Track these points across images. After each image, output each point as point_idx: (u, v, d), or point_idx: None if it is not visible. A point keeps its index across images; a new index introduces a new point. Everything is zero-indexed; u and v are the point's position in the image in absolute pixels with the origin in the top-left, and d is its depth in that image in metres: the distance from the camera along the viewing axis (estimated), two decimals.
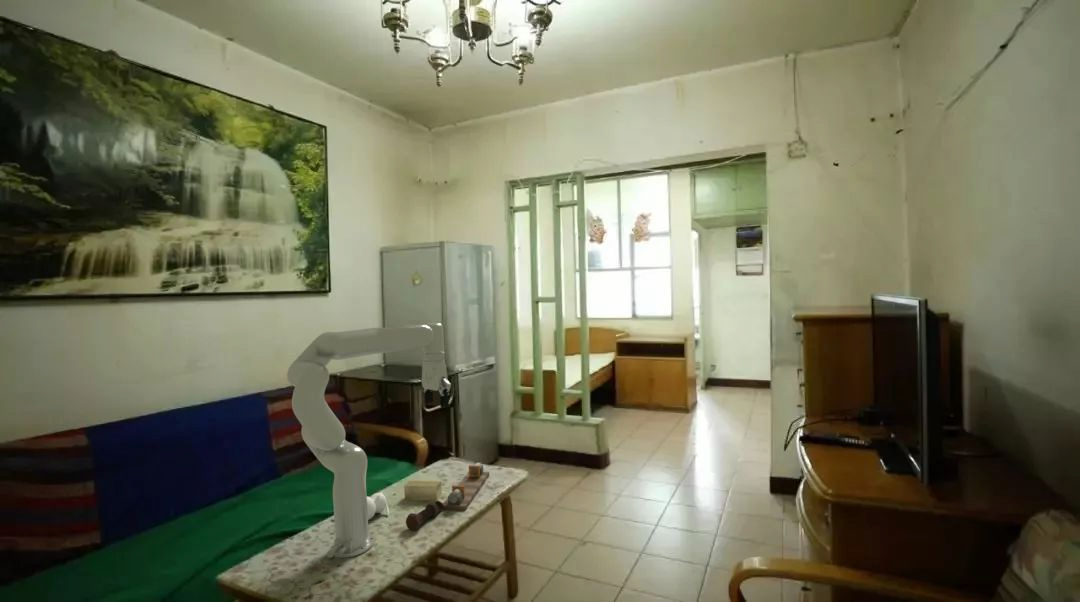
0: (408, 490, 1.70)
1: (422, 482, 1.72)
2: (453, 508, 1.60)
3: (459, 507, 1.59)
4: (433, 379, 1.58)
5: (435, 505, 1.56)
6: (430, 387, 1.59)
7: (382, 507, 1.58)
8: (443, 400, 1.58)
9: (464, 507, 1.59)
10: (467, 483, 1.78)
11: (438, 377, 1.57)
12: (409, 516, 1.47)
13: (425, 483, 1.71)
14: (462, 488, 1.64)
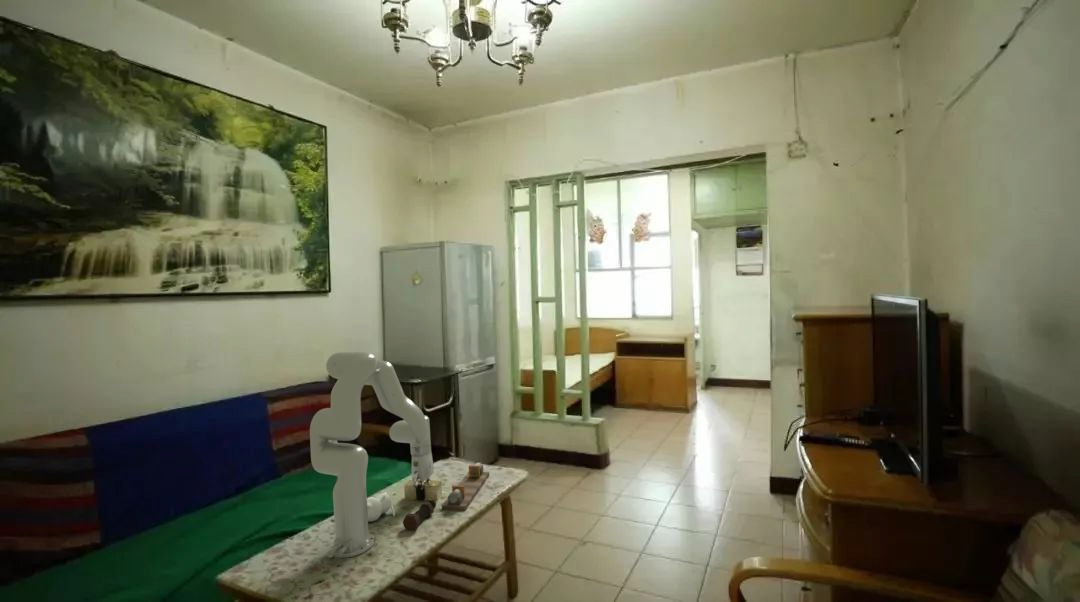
0: (408, 489, 1.70)
1: None
2: (453, 508, 1.60)
3: (459, 507, 1.59)
4: (431, 464, 1.74)
5: (429, 504, 1.57)
6: (430, 474, 1.72)
7: (388, 507, 1.58)
8: None
9: (464, 507, 1.59)
10: (467, 483, 1.78)
11: None
12: (407, 516, 1.47)
13: (425, 482, 1.72)
14: (462, 488, 1.64)
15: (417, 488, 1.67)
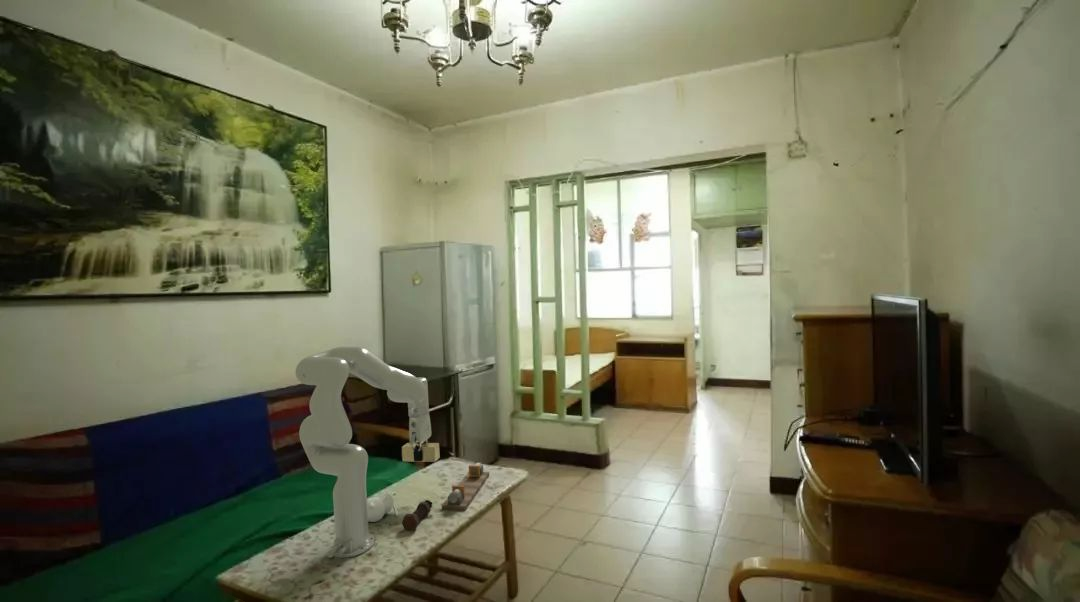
0: (405, 451, 1.69)
1: None
2: (453, 508, 1.60)
3: (459, 507, 1.59)
4: (429, 427, 1.73)
5: (427, 504, 1.57)
6: (428, 436, 1.71)
7: (390, 507, 1.58)
8: None
9: (464, 507, 1.59)
10: (467, 483, 1.78)
11: None
12: (406, 516, 1.47)
13: (423, 444, 1.71)
14: (462, 488, 1.64)
15: (415, 449, 1.66)
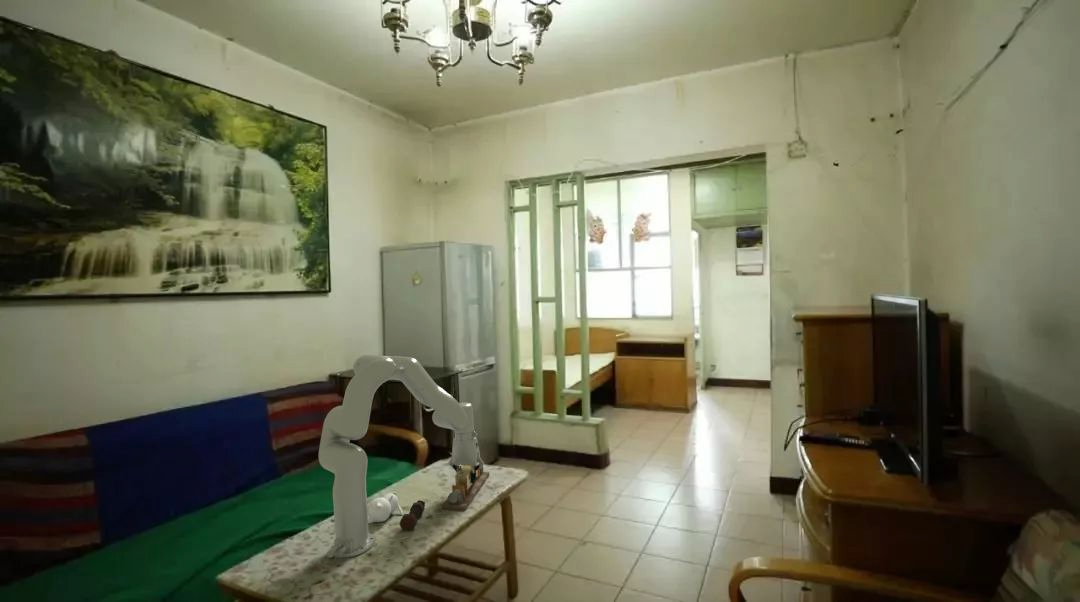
0: (468, 478, 1.69)
1: (463, 469, 1.74)
2: (453, 508, 1.60)
3: (459, 507, 1.59)
4: None
5: (421, 504, 1.57)
6: None
7: (395, 507, 1.58)
8: None
9: (464, 507, 1.59)
10: None
11: None
12: (404, 517, 1.47)
13: (466, 467, 1.75)
14: (462, 488, 1.64)
15: (477, 469, 1.74)
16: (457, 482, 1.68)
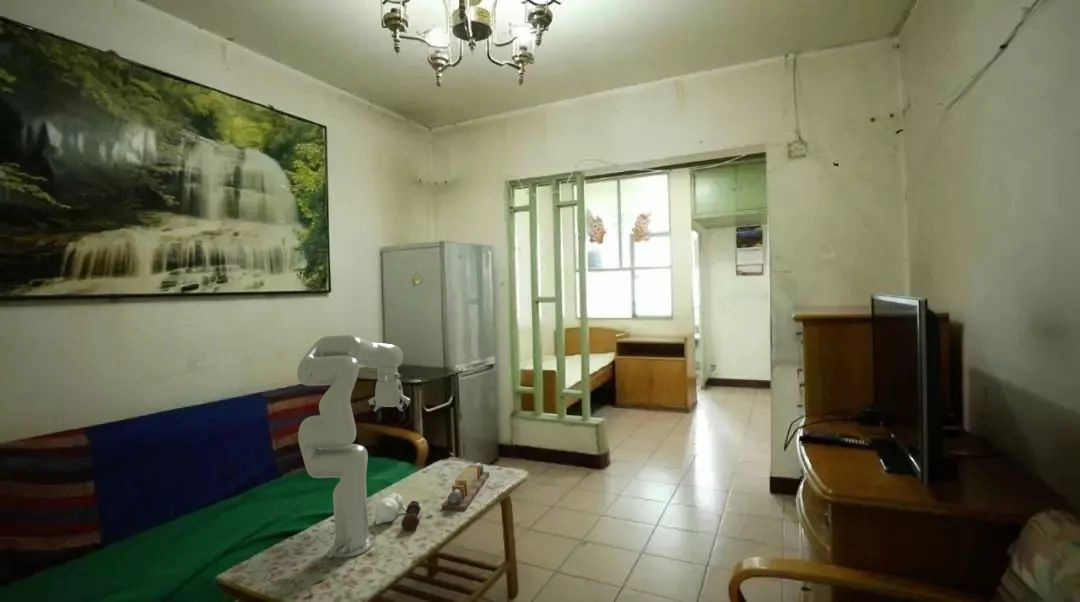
0: (468, 483, 1.69)
1: (463, 473, 1.74)
2: (453, 508, 1.60)
3: (459, 507, 1.59)
4: None
5: (417, 504, 1.57)
6: None
7: (401, 506, 1.58)
8: None
9: (464, 507, 1.59)
10: None
11: None
12: (406, 517, 1.47)
13: (466, 472, 1.75)
14: (462, 488, 1.64)
15: (405, 408, 1.76)
16: None
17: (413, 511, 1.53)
